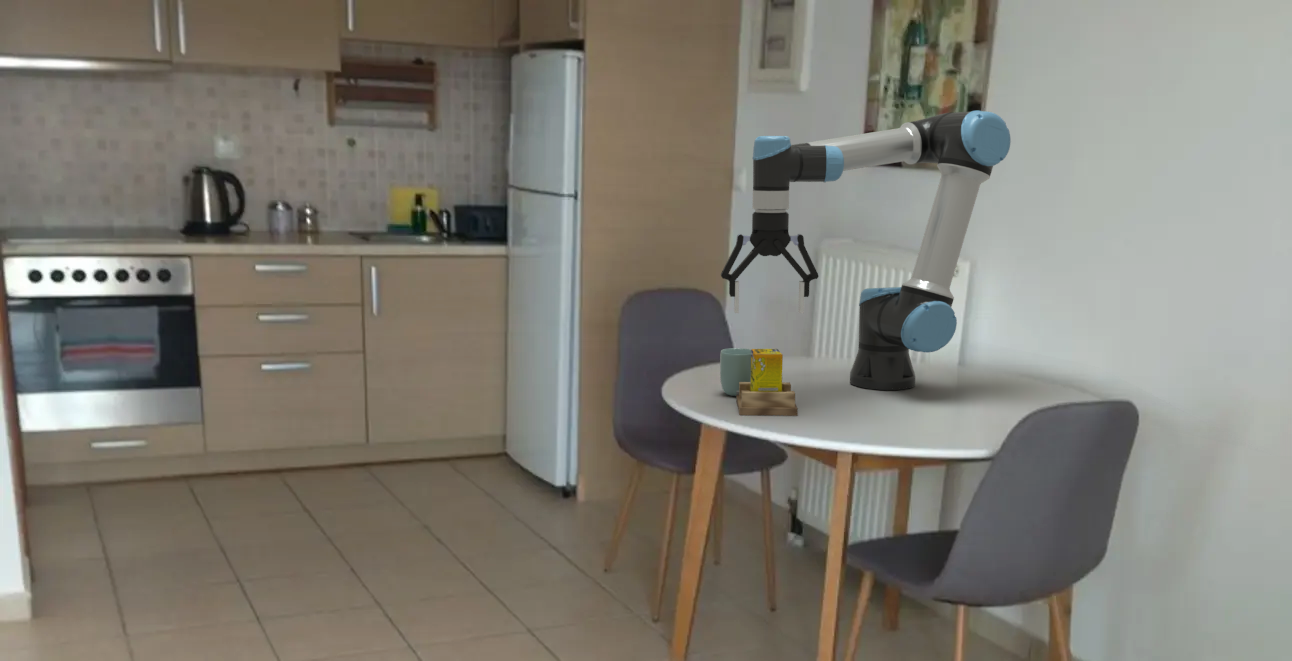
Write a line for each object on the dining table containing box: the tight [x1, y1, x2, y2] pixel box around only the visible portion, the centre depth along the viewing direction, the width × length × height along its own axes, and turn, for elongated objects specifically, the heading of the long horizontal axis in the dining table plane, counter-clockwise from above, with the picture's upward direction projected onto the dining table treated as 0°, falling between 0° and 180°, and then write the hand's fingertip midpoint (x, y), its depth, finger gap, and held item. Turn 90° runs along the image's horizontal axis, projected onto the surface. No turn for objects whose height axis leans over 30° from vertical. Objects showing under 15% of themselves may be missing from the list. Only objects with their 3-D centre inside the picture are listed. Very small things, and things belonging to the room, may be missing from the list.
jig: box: [735, 381, 799, 417], centre depth 232 cm, size 12×13×4 cm
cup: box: [719, 347, 751, 397], centre depth 245 cm, size 8×8×10 cm
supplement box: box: [750, 348, 784, 392], centre depth 231 cm, size 6×6×11 cm
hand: (768, 312), depth 229 cm, fingers open, 13 cm apart
